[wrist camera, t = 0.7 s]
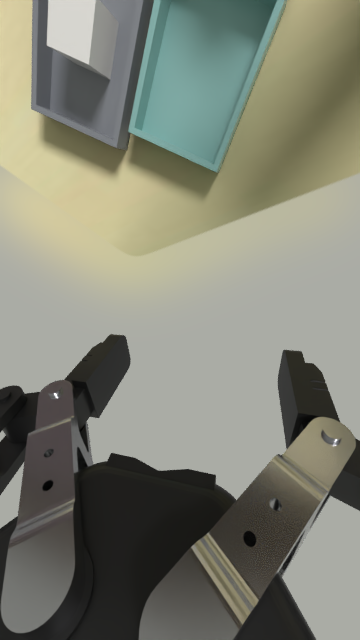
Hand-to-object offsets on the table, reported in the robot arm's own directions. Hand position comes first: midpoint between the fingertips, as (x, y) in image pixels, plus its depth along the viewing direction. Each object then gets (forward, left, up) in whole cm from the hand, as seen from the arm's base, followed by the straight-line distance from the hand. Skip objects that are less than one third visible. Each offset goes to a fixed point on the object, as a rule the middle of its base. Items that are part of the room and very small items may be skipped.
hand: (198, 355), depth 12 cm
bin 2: (-14, -10, -26) cm, 31 cm away
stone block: (-13, -22, -25) cm, 36 cm away
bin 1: (-13, -22, -26) cm, 36 cm away
